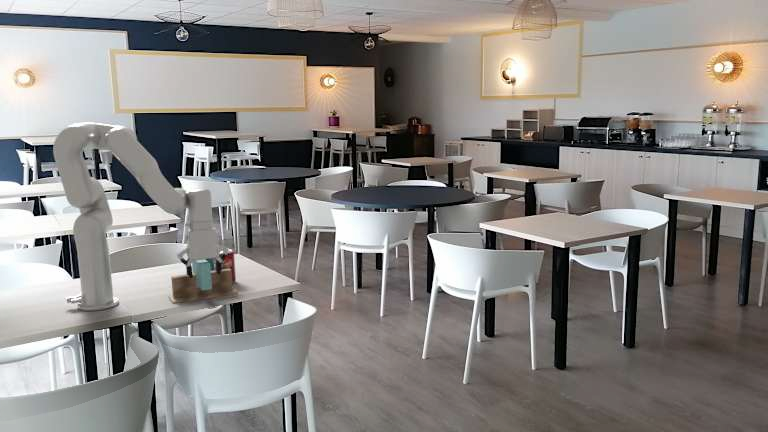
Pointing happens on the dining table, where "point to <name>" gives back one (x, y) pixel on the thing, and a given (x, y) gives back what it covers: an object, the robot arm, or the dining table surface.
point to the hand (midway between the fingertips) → (204, 275)
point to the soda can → (228, 263)
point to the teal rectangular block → (202, 274)
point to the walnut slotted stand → (189, 290)
